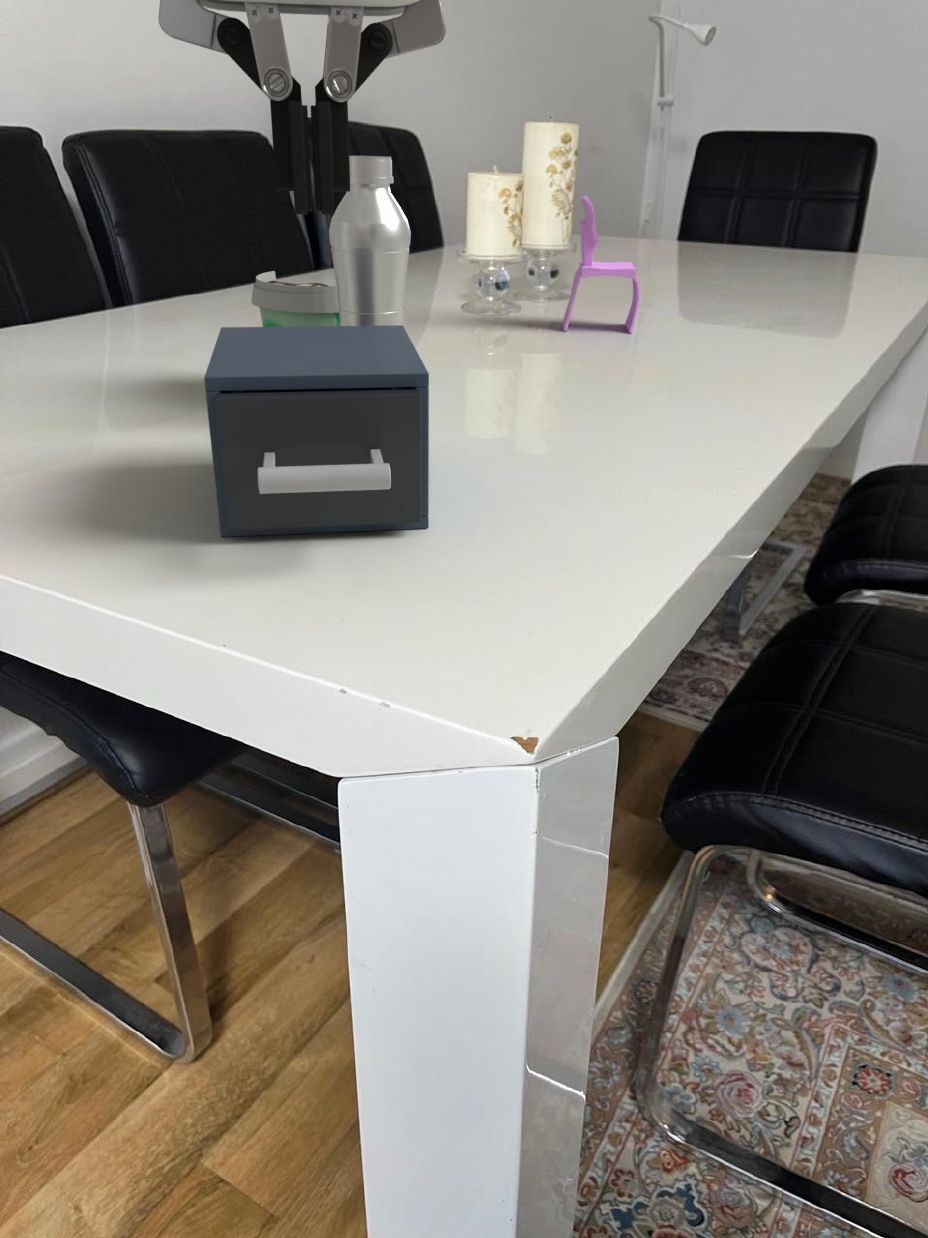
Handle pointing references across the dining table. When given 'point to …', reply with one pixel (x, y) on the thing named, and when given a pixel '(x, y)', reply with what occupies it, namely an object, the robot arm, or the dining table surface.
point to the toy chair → (599, 266)
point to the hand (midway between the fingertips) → (314, 210)
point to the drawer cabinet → (315, 386)
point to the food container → (295, 303)
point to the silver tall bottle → (370, 247)
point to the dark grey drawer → (320, 457)
